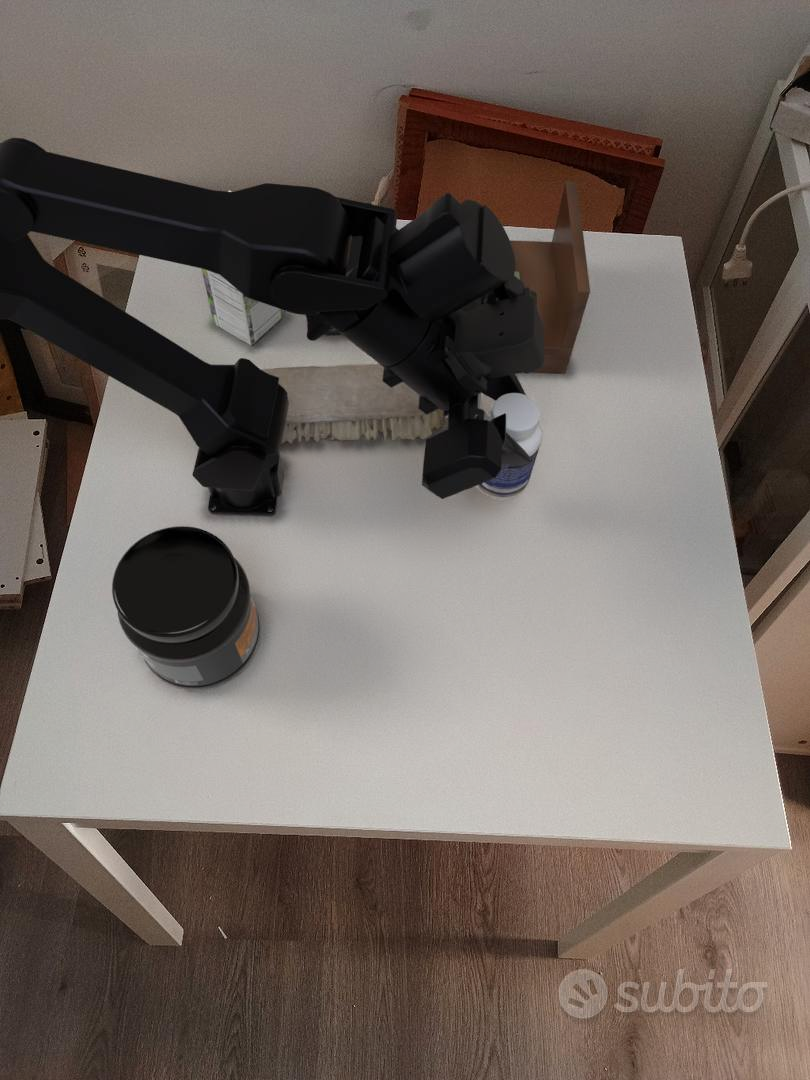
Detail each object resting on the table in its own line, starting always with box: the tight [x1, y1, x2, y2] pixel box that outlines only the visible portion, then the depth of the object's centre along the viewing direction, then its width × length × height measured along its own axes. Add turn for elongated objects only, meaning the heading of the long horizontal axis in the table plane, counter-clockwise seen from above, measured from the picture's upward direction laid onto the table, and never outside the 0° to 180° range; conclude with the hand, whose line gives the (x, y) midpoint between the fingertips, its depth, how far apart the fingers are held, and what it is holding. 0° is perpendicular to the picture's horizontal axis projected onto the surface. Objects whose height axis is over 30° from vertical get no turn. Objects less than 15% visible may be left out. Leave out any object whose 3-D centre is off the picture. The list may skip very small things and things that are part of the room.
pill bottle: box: [475, 393, 543, 501], centre depth 72 cm, size 5×5×10 cm
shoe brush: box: [260, 363, 444, 445], centre depth 84 cm, size 24×8×5 cm, turn 95°
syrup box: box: [200, 190, 285, 347], centre depth 86 cm, size 6×6×14 cm
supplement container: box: [111, 525, 261, 691], centre depth 69 cm, size 10×10×12 cm
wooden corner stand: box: [509, 180, 591, 375], centre depth 89 cm, size 14×16×12 cm
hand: (526, 435), depth 71 cm, fingers closed on pill bottle, 5 cm apart
